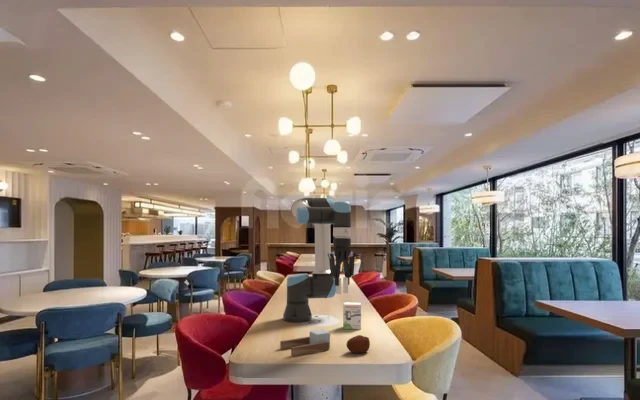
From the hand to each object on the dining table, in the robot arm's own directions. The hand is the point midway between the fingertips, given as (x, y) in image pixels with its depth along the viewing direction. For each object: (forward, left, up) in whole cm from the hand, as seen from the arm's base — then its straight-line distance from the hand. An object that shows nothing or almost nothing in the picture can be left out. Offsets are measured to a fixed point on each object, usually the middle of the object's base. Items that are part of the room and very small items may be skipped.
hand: (342, 293), depth 167 cm
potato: (+14, -2, -21) cm, 25 cm away
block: (0, -11, -21) cm, 23 cm away
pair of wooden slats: (0, -18, -21) cm, 27 cm away
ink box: (-18, +18, -21) cm, 33 cm away
